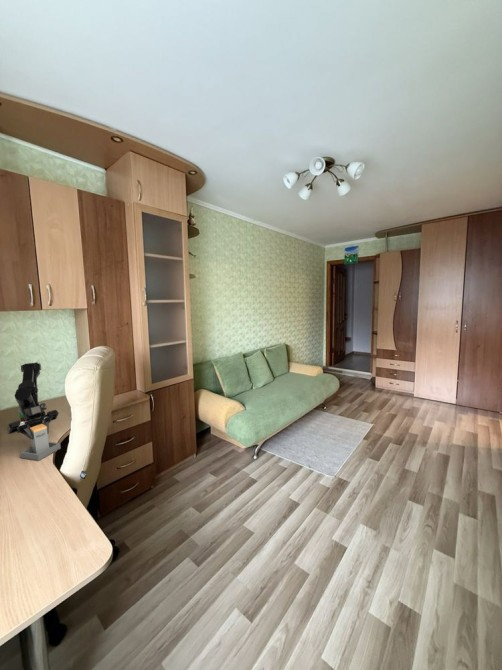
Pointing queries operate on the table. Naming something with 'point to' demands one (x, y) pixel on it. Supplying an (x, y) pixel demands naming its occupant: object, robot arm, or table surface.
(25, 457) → the tray
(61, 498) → the table surface
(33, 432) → the gray orange box
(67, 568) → the table surface
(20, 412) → the food container
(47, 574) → the table surface
